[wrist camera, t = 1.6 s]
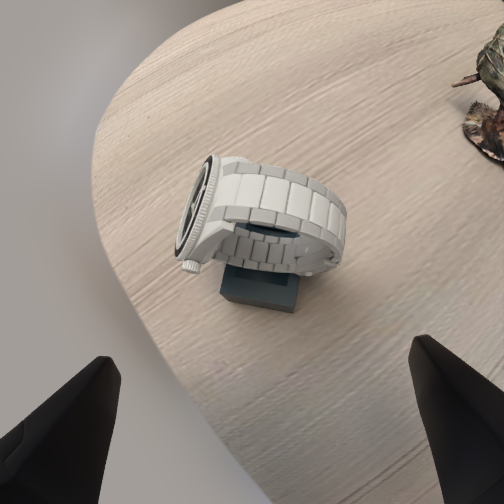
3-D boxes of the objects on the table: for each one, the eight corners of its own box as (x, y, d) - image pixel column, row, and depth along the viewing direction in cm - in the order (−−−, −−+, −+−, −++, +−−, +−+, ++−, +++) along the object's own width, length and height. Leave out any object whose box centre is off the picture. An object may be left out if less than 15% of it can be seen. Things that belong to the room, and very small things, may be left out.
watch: (219, 220, 23) (170, 123, 13) (331, 238, 22) (365, 144, 12) (200, 296, 22) (126, 246, 11) (319, 319, 20) (353, 287, 10)
